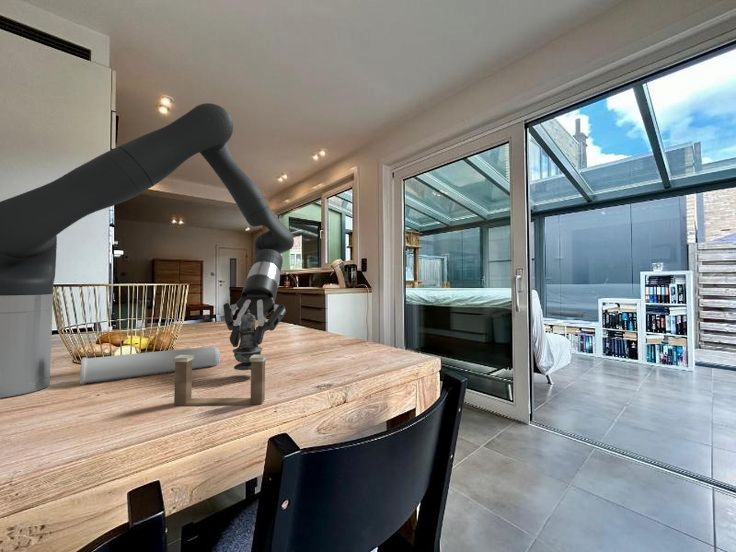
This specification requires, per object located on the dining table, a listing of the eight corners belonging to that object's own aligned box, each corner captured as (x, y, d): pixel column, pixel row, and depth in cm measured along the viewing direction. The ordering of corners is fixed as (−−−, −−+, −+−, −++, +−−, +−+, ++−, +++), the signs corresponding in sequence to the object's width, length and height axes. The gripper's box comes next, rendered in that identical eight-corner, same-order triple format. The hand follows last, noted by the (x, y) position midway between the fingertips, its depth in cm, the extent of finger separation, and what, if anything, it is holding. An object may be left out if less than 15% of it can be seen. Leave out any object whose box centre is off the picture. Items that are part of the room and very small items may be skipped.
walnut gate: (172, 405, 51) (173, 358, 51) (179, 400, 53) (180, 355, 53) (262, 404, 51) (263, 357, 52) (266, 399, 54) (266, 354, 54)
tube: (217, 346, 79) (83, 359, 64) (222, 342, 75) (81, 355, 60) (218, 368, 78) (81, 386, 63) (223, 365, 74) (79, 384, 59)
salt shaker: (256, 361, 70) (257, 307, 70) (266, 367, 66) (267, 309, 66) (228, 366, 66) (229, 309, 67) (237, 372, 62) (238, 311, 62)
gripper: (228, 272, 73) (203, 333, 61) (290, 273, 74) (277, 334, 62) (236, 294, 79) (214, 355, 66) (293, 295, 80) (282, 355, 67)
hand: (244, 344), depth 64 cm, fingers closed on salt shaker, 3 cm apart
